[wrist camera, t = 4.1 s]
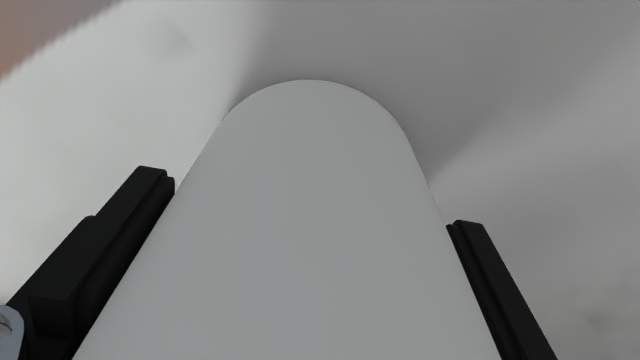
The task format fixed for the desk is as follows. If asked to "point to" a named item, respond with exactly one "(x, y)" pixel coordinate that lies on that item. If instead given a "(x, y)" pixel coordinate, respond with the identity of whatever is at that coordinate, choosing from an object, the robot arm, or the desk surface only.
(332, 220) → the can
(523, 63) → the desk surface
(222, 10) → the desk surface
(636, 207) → the desk surface
